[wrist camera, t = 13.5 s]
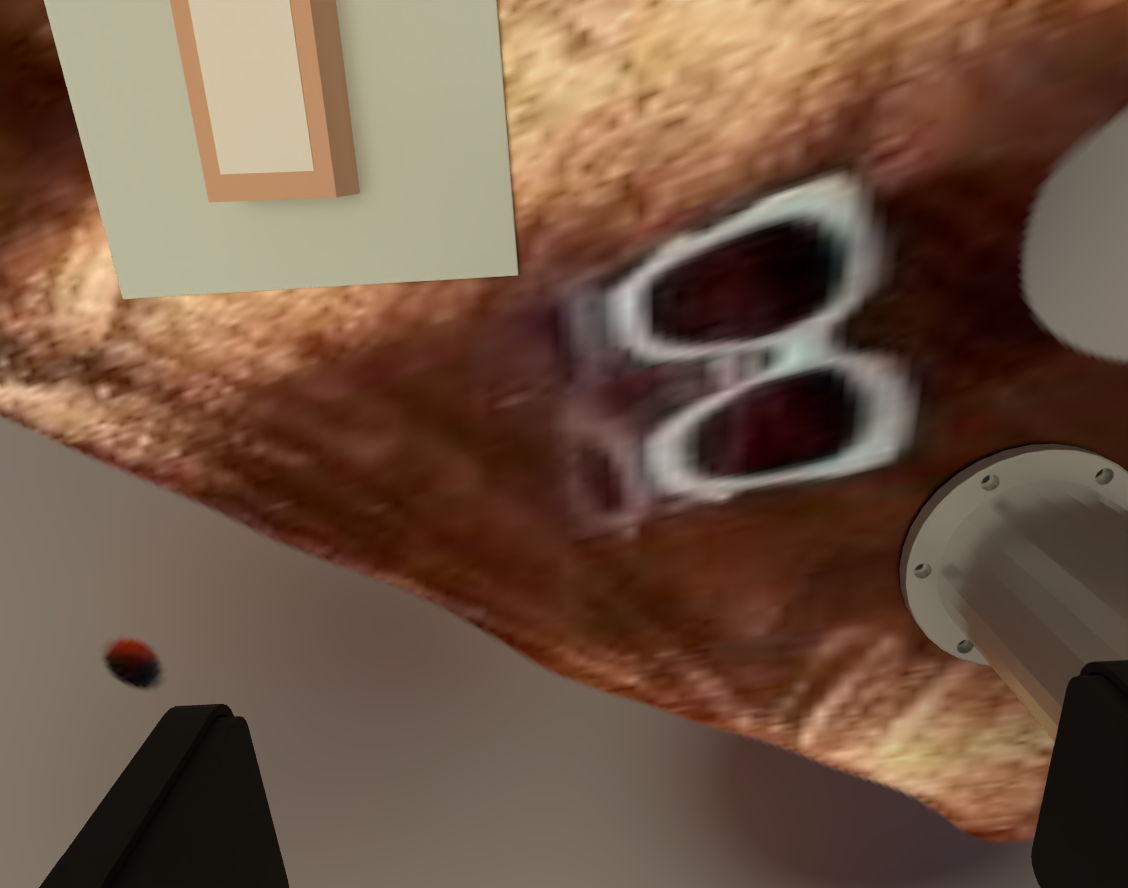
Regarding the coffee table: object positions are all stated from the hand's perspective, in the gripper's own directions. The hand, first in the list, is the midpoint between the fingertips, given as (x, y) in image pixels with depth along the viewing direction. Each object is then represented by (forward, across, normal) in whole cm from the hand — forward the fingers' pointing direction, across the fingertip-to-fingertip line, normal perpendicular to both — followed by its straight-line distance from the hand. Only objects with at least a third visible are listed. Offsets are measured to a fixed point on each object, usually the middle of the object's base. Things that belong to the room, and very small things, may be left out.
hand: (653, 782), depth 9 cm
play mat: (+28, +12, -10) cm, 32 cm away
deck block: (+28, +12, -10) cm, 32 cm away
